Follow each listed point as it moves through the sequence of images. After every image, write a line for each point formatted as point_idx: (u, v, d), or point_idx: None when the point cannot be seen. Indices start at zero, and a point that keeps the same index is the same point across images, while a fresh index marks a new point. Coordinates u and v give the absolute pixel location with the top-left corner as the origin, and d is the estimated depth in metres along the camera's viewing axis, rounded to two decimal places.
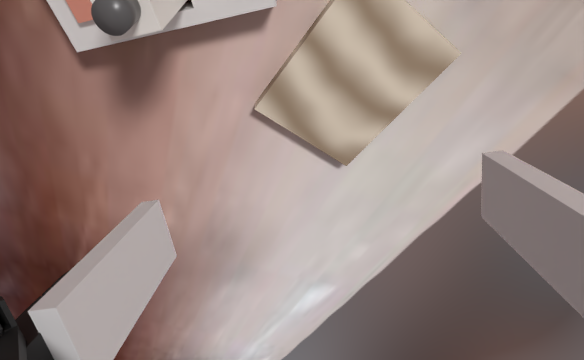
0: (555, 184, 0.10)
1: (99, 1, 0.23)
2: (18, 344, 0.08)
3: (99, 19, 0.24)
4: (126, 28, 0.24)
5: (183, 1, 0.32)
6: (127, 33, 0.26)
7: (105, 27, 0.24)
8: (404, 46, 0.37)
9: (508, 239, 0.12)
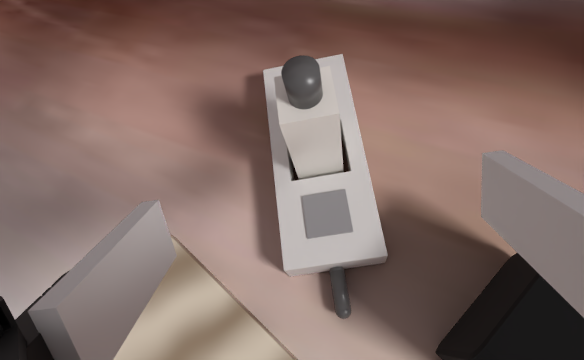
0: (555, 184, 0.10)
1: (315, 64, 0.22)
2: (18, 344, 0.08)
3: (299, 60, 0.23)
4: (287, 81, 0.22)
5: (298, 171, 0.31)
6: (280, 92, 0.25)
7: (290, 64, 0.23)
8: None
9: (508, 239, 0.12)
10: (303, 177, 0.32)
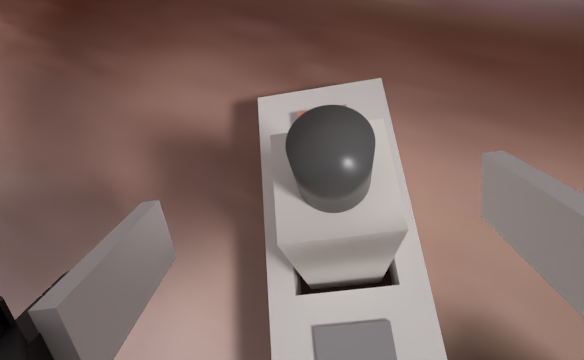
0: (555, 184, 0.10)
1: (366, 129, 0.10)
2: (18, 344, 0.08)
3: (327, 116, 0.10)
4: (299, 168, 0.09)
5: (309, 280, 0.18)
6: (281, 169, 0.12)
7: (307, 124, 0.10)
8: None
9: (509, 239, 0.12)
10: (316, 284, 0.19)
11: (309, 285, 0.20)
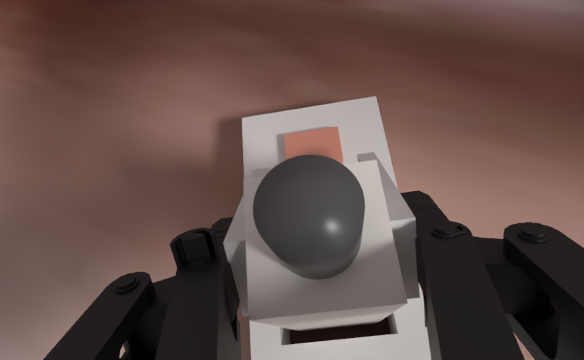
0: (384, 179, 0.13)
1: (353, 188, 0.08)
2: (220, 275, 0.09)
3: (305, 171, 0.08)
4: (269, 239, 0.07)
5: None
6: None
7: (281, 179, 0.08)
8: None
9: None
10: (304, 329, 0.17)
11: (297, 330, 0.17)
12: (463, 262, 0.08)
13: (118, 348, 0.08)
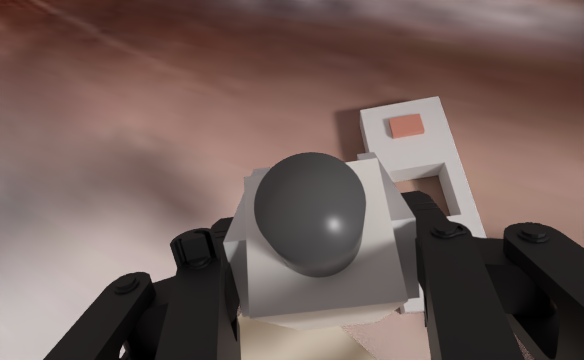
0: (384, 179, 0.13)
1: (354, 186, 0.08)
2: (220, 275, 0.09)
3: (306, 168, 0.08)
4: (270, 236, 0.07)
5: (296, 327, 0.16)
6: (256, 220, 0.10)
7: (282, 177, 0.08)
8: None
9: None
10: (305, 328, 0.17)
11: (297, 329, 0.17)
12: (463, 262, 0.08)
13: (118, 347, 0.08)
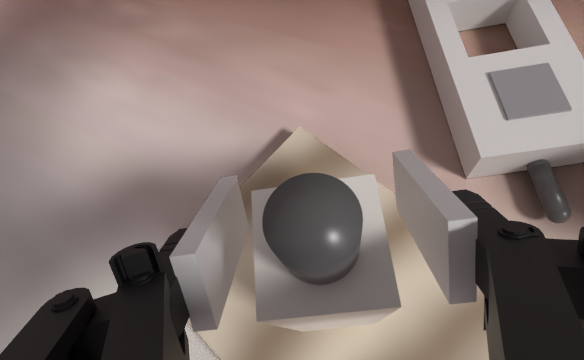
0: (430, 177, 0.12)
1: (352, 204, 0.09)
2: (164, 288, 0.09)
3: (309, 187, 0.09)
4: (277, 249, 0.08)
5: (298, 329, 0.17)
6: (262, 231, 0.11)
7: (287, 195, 0.09)
8: None
9: (408, 226, 0.14)
10: (306, 329, 0.18)
11: (299, 330, 0.18)
12: (533, 265, 0.07)
13: None
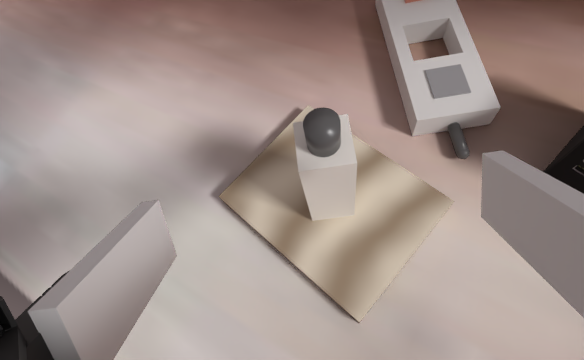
0: (555, 183, 0.10)
1: (336, 118, 0.23)
2: (18, 344, 0.08)
3: (320, 112, 0.23)
4: (309, 134, 0.23)
5: (311, 208, 0.31)
6: (298, 138, 0.26)
7: (312, 116, 0.23)
8: (369, 250, 0.33)
9: (508, 239, 0.12)
10: (315, 213, 0.33)
11: (311, 214, 0.33)
12: None
13: None
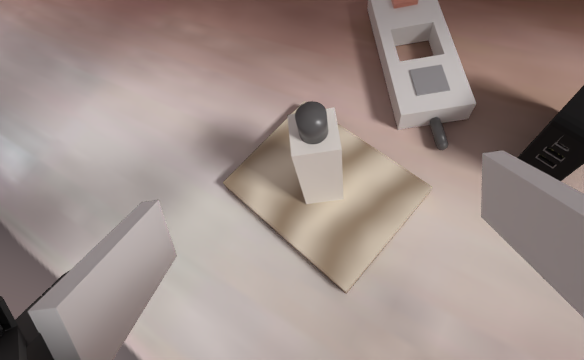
0: (555, 184, 0.10)
1: (323, 110, 0.27)
2: (18, 344, 0.08)
3: (309, 105, 0.27)
4: (300, 123, 0.27)
5: (304, 192, 0.35)
6: (292, 128, 0.30)
7: (302, 108, 0.27)
8: (356, 230, 0.37)
9: (509, 239, 0.12)
10: (308, 196, 0.37)
11: (304, 198, 0.37)
12: None
13: None
